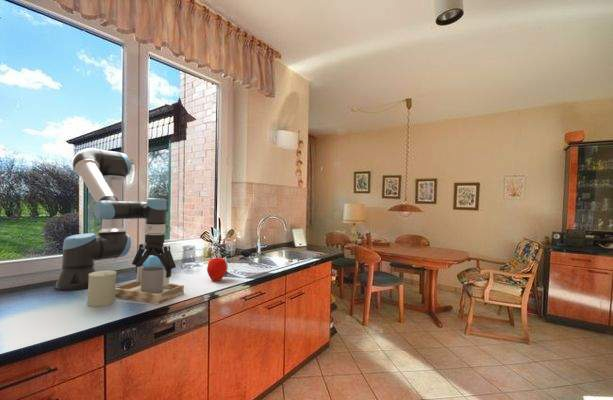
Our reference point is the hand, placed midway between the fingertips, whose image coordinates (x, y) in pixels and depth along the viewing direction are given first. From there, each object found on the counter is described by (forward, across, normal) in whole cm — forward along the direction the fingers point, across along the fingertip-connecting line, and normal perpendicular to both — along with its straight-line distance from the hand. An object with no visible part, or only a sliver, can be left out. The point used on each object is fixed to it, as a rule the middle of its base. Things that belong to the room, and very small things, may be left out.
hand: (152, 283), depth 124 cm
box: (+5, -2, 0) cm, 6 cm away
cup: (+4, 0, 0) cm, 4 cm away
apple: (+5, +12, +31) cm, 34 cm away
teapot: (+6, -23, +28) cm, 37 cm away
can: (+5, -11, -14) cm, 18 cm away
